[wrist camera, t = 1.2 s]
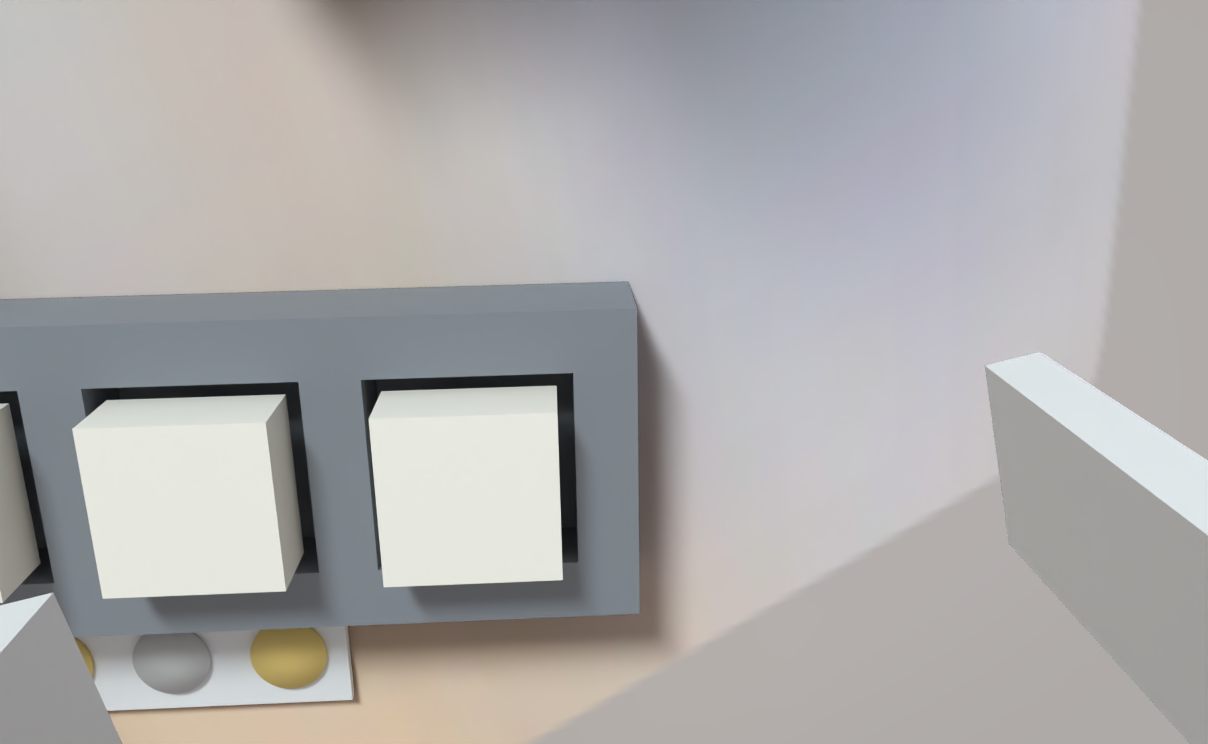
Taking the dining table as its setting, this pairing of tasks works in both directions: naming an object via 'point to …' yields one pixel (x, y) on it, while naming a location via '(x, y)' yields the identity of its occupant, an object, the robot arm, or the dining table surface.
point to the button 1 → (14, 513)
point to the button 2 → (191, 495)
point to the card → (220, 667)
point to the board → (332, 434)
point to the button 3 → (467, 485)
